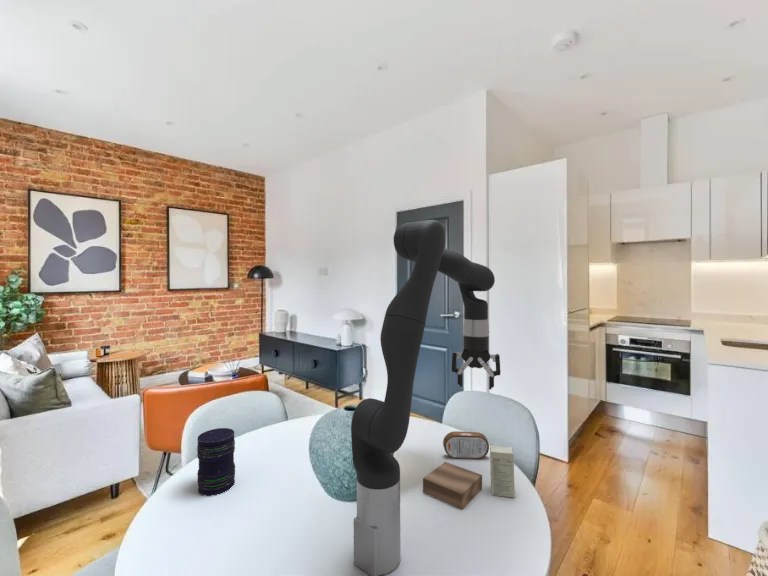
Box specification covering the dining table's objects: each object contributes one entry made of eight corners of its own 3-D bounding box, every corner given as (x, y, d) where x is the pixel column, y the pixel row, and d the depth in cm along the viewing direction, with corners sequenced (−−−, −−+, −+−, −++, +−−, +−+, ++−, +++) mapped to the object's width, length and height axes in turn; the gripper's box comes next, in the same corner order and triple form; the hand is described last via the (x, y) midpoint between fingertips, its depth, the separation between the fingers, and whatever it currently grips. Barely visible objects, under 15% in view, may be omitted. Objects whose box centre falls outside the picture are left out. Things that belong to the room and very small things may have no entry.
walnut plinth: (462, 509, 92) (462, 494, 92) (423, 492, 100) (423, 478, 100) (482, 489, 101) (482, 474, 101) (444, 474, 109) (444, 461, 109)
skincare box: (513, 489, 101) (513, 446, 101) (514, 498, 97) (514, 453, 97) (489, 486, 103) (489, 444, 103) (490, 495, 99) (490, 450, 98)
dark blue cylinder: (202, 500, 97) (201, 445, 96) (193, 485, 104) (193, 433, 104) (240, 487, 103) (239, 435, 103) (229, 473, 111) (229, 425, 110)
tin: (487, 456, 121) (487, 431, 121) (490, 460, 118) (490, 435, 118) (443, 454, 122) (442, 430, 122) (443, 459, 119) (443, 434, 119)
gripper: (450, 334, 107) (450, 388, 107) (500, 336, 102) (500, 393, 103) (453, 331, 114) (453, 382, 114) (500, 333, 110) (500, 386, 110)
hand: (475, 387), depth 108 cm, fingers open, 8 cm apart
